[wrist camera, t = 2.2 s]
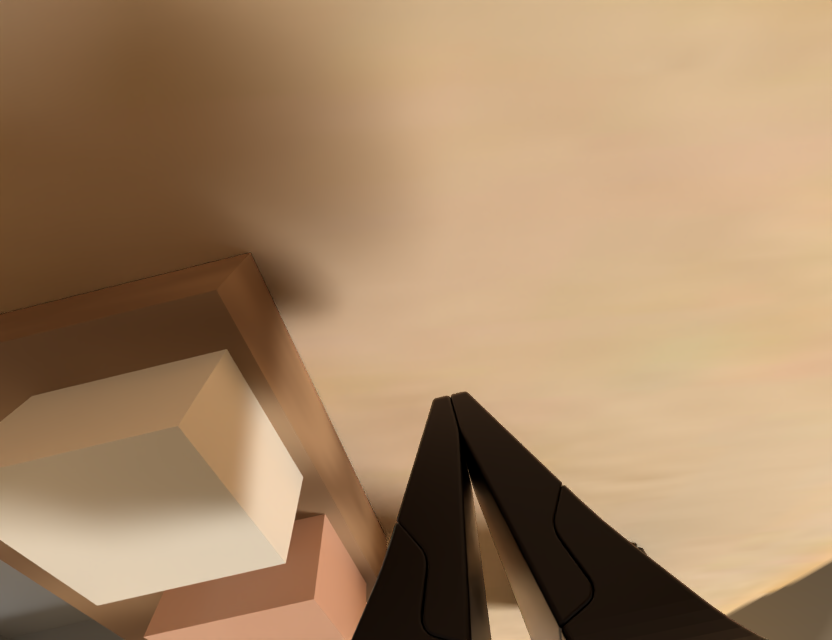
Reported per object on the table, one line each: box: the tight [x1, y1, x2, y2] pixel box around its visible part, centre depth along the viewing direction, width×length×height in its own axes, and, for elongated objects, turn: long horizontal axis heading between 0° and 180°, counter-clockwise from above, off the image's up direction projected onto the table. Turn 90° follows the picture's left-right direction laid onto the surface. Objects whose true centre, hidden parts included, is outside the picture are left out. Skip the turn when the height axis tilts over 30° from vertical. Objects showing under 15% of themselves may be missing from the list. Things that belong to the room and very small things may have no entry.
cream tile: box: [0, 349, 303, 606], centre depth 9 cm, size 5×5×2 cm
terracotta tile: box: [144, 514, 367, 640], centre depth 12 cm, size 5×5×2 cm
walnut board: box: [0, 253, 387, 640], centre depth 13 cm, size 15×11×2 cm
